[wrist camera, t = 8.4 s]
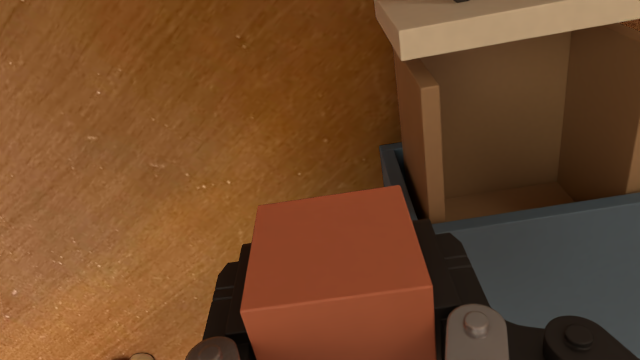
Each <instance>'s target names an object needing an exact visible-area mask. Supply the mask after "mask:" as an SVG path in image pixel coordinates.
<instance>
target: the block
mask: <svg viewBox="0 0 640 360" xmlns="http://www.w3.org/2000/svg"><path fill="white" fill-rule="evenodd" d="M240 314H241V317H242V319H243V322H244V325H245V328H246V331H247V334H248V337H249V340H250V343H251V345H252V348H253V351H254V354H255V357H256V360H437V354H436V335H435V316H434V297H433V285H432V282H431V279H430V276H429V273H428V269H427V266H426V263H425V260H424V257H423V254H422V251H421V248H420V245H419V242H418V239H417V235H416V232H415V229H414V226H413V223H412V220H411V217H410V214H409V211H408V208H407V205H406V201H405V198H404V195H403V192H402V189H401V186H400V185H395V186H388V187H381V188H375V189H368V190H361V191H354V192H347V193H341V194H334V195H327V196H320V197H313V198H307V199H300V200H293V201H286V202H279V203H272V204H266V205H259V206H258V209H257V215H256V221H255V226H254V232H253V238H252V244H251V250H250V256H249V261H248V267H247V273H246V279H245V285H244V291H243V296H242V302H241V308H240Z"/></svg>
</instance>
